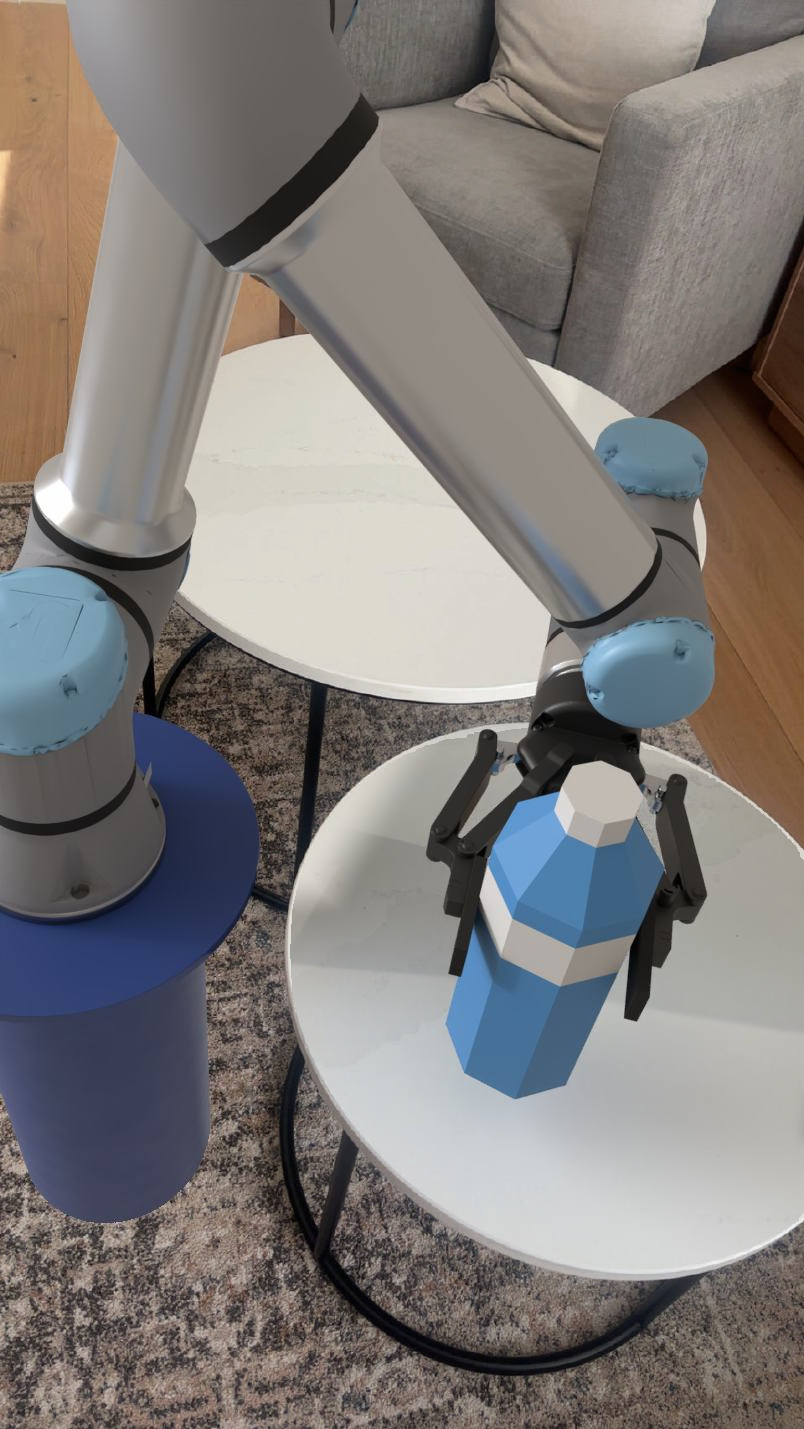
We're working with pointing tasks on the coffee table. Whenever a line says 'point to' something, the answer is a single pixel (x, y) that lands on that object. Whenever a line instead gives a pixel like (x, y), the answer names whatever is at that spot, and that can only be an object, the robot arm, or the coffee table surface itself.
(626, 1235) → the coffee table surface
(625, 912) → the water bottle
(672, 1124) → the coffee table surface
